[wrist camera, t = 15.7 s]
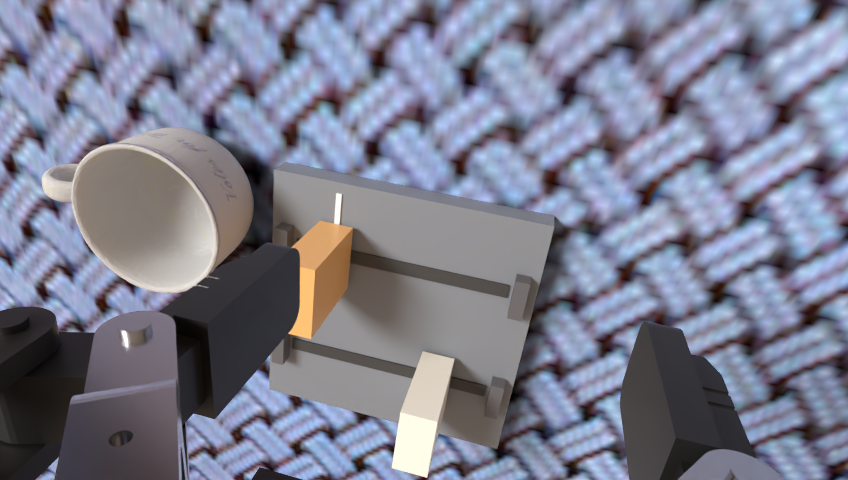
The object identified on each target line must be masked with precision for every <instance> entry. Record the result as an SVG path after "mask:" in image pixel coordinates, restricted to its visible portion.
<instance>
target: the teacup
mask: <svg viewBox="0 0 848 480" xmlns="http://www.w3.org/2000/svg"><path fill="white" fill-rule="evenodd" d="M42 186H43V190H44V192H45V194H46V195H47V196H48V197H50V198H52V199H54V200H57V201H61V202H70V203H72V207H73V212H74V216H75V219H76V222H77V224H78V226H79V229H80V231H81V233H82V235H83V237H84V239H85V241H86V243H87V244H88V245H89V247H90V248H91V249H92V251H93V252H94V253H95V254H96V256H97V257H98V258H99V259H100V260H101V261H102V262H103V263H104V264H105V265H106V266H107V267H108V268H110V269H111V270H112V271H113V272H114V273H116V274H117V275H119V276H120V277H122V278H123V279H125V280H127V281H128V282H130V283H132V284H134V285H136V286H138V287H141V288H144V289H147V290H150V291H154V292H160V293H177V292H183V291H187V290H189V289H190V288H192V287H193V286H196V285H197V283H198V282H200V281H201V280H202V279H204V278H205V277H206V278H207V277H208V275H209V274H210V273H211V272H212V270H213V269H214V268H215V267H217V266H218V265H219V264H220V263H221V262H222V261H223V260H224V259H225V258H226V257H227V256H228V255H229V254H231V253H232V252H233V251H234V250H235V248H236V247H237V246H238V245H239V244H240V243H241V241H242V240H243V239H244V237H245V236H246V234H247V232H248V230H249V227H250V225H251V221H252V218H253V210H254V202H253V194H252V189H251V186H250V183H249V180H248V178H247V176H246V174H245V172H244V170H243V168H242V167H241V165H240V164H239V162H238V161H237V160H236V159H235V157H234V156H233V155H232V154H231V153H230V152H229V151H228V150H227V149H226V148H225V147H223V146H222V145H221V144H220V143H218V142H217V141H215V140H214V139H212V138H210V137H208V136H206V135H204V134H201V133H199V132H196V131H193V130H189V129H182V128H163V129H157V130H153V131H149V132H146V133H142V134H139V135H136V136H134V137H131V138H128V139H125V140H123V141H120V142H118V143H112V144H107V145H104V146H102V147H99V148H97V149H95V150H93V151H91V152H90V153H89V154H87V155H86V156H85V157H84V158H83V160H82V161H81V162H80V163H79V164H66V165H60V166H56V167H53V168H51V169H49V170H47V171H46V172H45V173H44V175H43V177H42Z"/></svg>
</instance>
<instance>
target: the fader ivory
mask: <svg viewBox="0 0 848 480" xmlns="http://www.w3.org/2000/svg"><path fill="white" fill-rule="evenodd" d="M453 364H454V359H453V358H449V357H445V356H441V355H437V354H432V353H428V352H424V351H423V352H422V355H421V357H420V360H419V363H418V366H417V368H416V371H415V374H414V376H413V379H412V382H411V385H410V387H409V390H408V393H407V396H406V398H405V401H404V404H403V406H402V409H401V412H400V418H399V424H398V431H397V437H396V444H395V451H394V457H393V464H392V468H394V469H398V470H401V471H405V472H408V473H412V474H416V475H419V476H423V477H427V476H428V472H429V468H430V464H431V460H432V456H433V453H434V449H435V445H436V441H437V437H438V433H439V429H440V426H441V422H442V418H443V414H444V410H445V405H446V400H447V395H448V390H449V385H450V380H451V375H452V370H453Z"/></svg>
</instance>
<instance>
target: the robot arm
mask: <svg viewBox="0 0 848 480" xmlns="http://www.w3.org/2000/svg"><path fill="white" fill-rule="evenodd" d="M299 307H300V254H299V251H298V250H297V249H296V248H292V247H287V246H282V245H277V244H272V243H265V244H263V245H262V246H261V247H259V248H258V249H257V250H256V251H254V252H253V253H252V254H250V255H249V256H248V257H247V258H243V257H242V258H239V259H236V260H234V261H231V262H228V263H226V264H223V265H221V266H220V267H219V268H217V269H216V270H215V271H213V272H212V273H211V274H209V275H208V278H206V277H205V278H204V279H202V280H201V281H200V282H198V283H197V285H196V286H193V287H192V288H190V289H189V290H188V291H186V292H185V293H184V294H182V295H181V296H180V297H178V298H177V299H176V300H174V301H173V302H172V303H170V304H169V305H168V306H166V307H165V308H164V309H162V310H161V311H160V312H156V311H137V312H130V313H126V314H123V315H120V316H117V317H114V318H112V319H110V320H108V321H107V322H105V323H104V324H102V325H101V326H100V327H99V328H98V329H97V330H96V332H95V333H80V332H59V331H58V326H57V321H56V317H55V315H54V313H52V312H51V311H49V310H47V309H44V308H39V307H18V308H12V309H7V310H3V311H0V480H35V479H36V478H37V477H38V476H39V475H40V474H42V473H43V472H44V471H45V470H46V469H47V468H48V467H49V466H50V465H51V464H52V463H53V462H54V461H55V460H56V459H57V458H58V457H59V459H58V464H57V468H56V473H55V478H54V480H190V477H189V459H188V441H187V427H186V421H187V420H188V419H189V418H190V417H191V415H192V414H193V413H194V414H198V415H202V416H205V417H209V418H213V419H215V418H216V417H217V416H218V415H219V414H220V413H221V411H222V410H223V409H224V408H225V407H226V406H227V404H228V403H229V402H230V401H231V400H232V399H233V397H234V396H235V395H236V394H237V393H238V391H239V390H240V389H241V388H242V387H243V386H244V384H245V383H246V382H247V381H248V380H249V379H250V377H251V376H252V375H253V374H254V373H255V372H256V370H257V369H258V368H259V367H260V366H261V365H262V363H263V362H264V361H265V360H266V359H267V358H268V356H269V355H270V354H271V353H272V352H273V351H274V349H275V348H276V347H277V346H278V345H279V344H280V342H281V341H282V340H283V339H284V338H285V337H286V335H287V334H288V333H289V332H290V331H291V329H292V328H293V326H294V324H295V322H296V320H297V317H298V313H299ZM728 393H729V392H728V390H727V388H726V385H725V383H724V380H723V378H722V375H721V374H720V373H719V372H718V371H717V370H716V369H715V368H714V367H713V366H712V365H711V364H710V363H709V362H708V361H707V360H706V359H705V358H704V357H700V356H695V355H691V353H690V351H689V348H688V345H687V342H686V339H685V336H684V334H683V331H682V330H681V329H678V328H673V327H669V326H664V325H659V324H654V323H649V322H644V323H643V324H642V325H641V327H640V330H639V333H638V336H637V339H636V342H635V345H634V348H633V351H632V354H631V358H630V361H629V364H628V367H627V370H626V373H625V376H624V380H623V384H622V389H621V397H620V409H621V417H622V425H623V433H624V440H625V448H626V456H627V463H628V471H629V479H630V480H785V479H784V478H783V477H782V476H781V475H779V474H778V473H777V472H776V471H775V470H773V469H772V468H771V467H769V466H768V465H766V464H765V463H763V462H761V461H759V460H758V459H756V458H755V455H754V453H753V450H752V448H751V445H750V443H749V441H748V438H747V436H746V433H745V431H744V429H743V426H742V424H741V421H740V419H739V416H738V414H737V412H736V411H734V408H735V407H734V404H733V402H732V400H731V397H730V396H728ZM252 480H302V479H298V478H295V477H291V476H288V475H284V474H281V473H278V472H274V471H271V470H267V469H264V468H259V469H258V471H257V472H256V474H255V475H254V477H253V478H252Z"/></svg>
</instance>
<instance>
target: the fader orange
mask: <svg viewBox="0 0 848 480" xmlns="http://www.w3.org/2000/svg"><path fill="white" fill-rule="evenodd" d="M352 235H353V228H352V227H348V226H343V225H338V224H334V223H329V222H324V221H319V222H318V223H317V224H316V225H315V226H314V227H313V228H312V229H311V230H309V231H308V232H307V233H306V234H305V235H304V236H303V237H302V238H301V239H300V240H299V241H298V242H297V243H296V244H294V245H293V246H292V248H296V249H297V250H298V251H299V254H300V307H299V313H298V317H297V320H296V322H295V324H294V326H293V328H292V329H291V331H290V332H289V333H288V334H292V335H296V336H300V337H304V338H308V339H312V337H313V336H314V335H315V333H316V332H317V330H318V329H319V328H320V326H321V325H322V323H323V322H324V321H325V319H326V318H327V316H328V315H329V314H330V312H331V311H332V309H333V308H334V307H335V305H336V304H337V302H338V301H339V300H340V298H341V297H342V295H343V294H344V293H345V291H346V290H347V288H348V280H349V269H350V257H351V246H352Z"/></svg>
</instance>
